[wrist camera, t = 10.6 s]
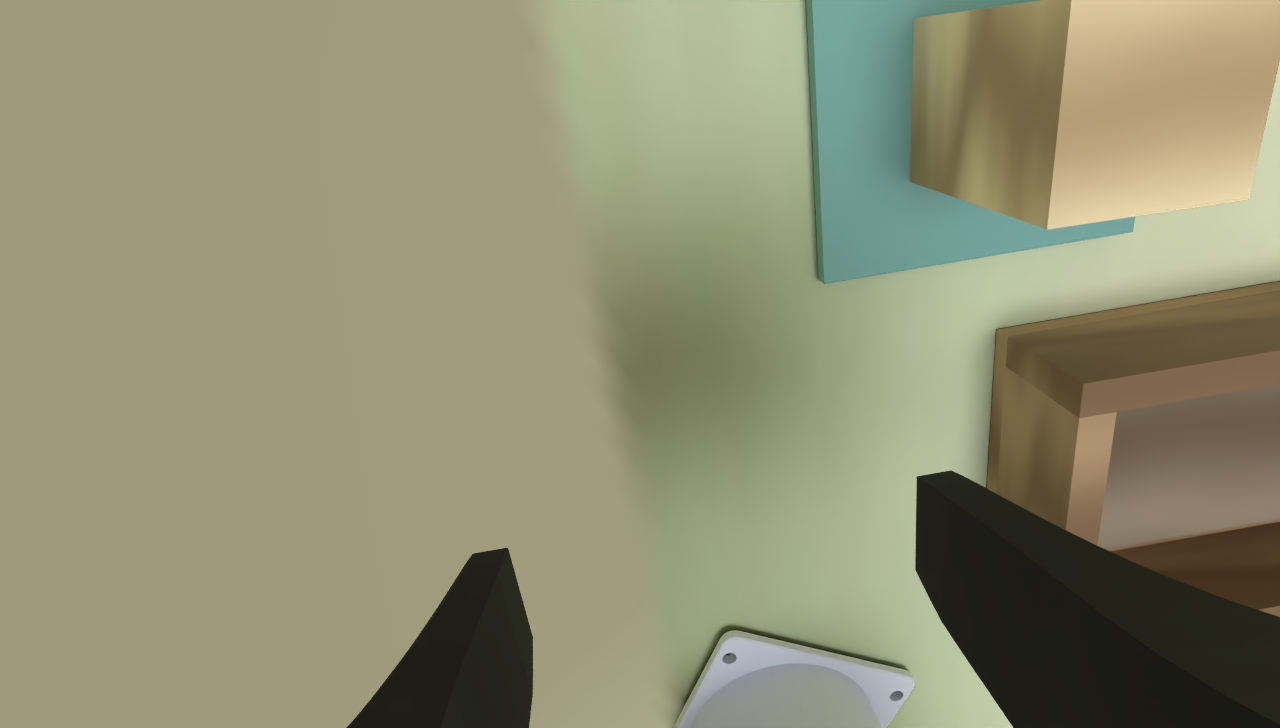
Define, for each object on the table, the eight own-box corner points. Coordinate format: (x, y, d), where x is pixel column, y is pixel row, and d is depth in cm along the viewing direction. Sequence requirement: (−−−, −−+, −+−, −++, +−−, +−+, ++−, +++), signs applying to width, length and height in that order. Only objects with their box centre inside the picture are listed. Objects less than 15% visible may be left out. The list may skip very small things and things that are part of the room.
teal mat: (1120, 228, 20) (1132, 231, 20) (818, 279, 20) (824, 284, 20) (1168, -139, 17) (1185, -145, 16) (802, -81, 17) (808, -85, 16)
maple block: (1053, 160, 19) (1248, 199, 13) (910, 181, 19) (1047, 229, 13) (1071, -5, 17) (1300, -37, 12) (913, 18, 17) (1071, -4, 12)
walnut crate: (1352, 517, 26) (1482, 592, 22) (980, 583, 25) (1048, 670, 22) (1437, 254, 22) (1612, 292, 18) (996, 329, 21) (1083, 384, 18)
